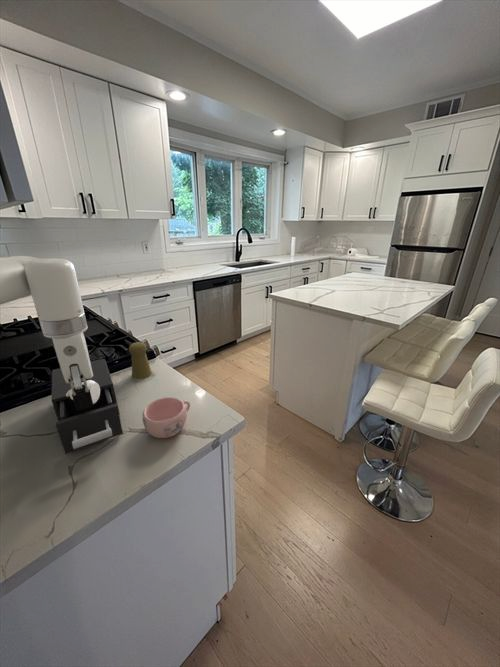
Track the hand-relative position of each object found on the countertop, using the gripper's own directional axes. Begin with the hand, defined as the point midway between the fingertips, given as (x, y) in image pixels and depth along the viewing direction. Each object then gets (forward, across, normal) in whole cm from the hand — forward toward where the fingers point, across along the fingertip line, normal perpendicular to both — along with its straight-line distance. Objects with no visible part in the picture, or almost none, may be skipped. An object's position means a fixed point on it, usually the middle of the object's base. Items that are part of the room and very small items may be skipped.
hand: (83, 399), depth 61 cm
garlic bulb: (+1, 0, 0) cm, 1 cm away
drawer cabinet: (+10, +12, 0) cm, 15 cm away
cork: (+10, +22, -16) cm, 29 cm away
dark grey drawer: (+9, 0, 0) cm, 9 cm away
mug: (+10, -7, -16) cm, 20 cm away
